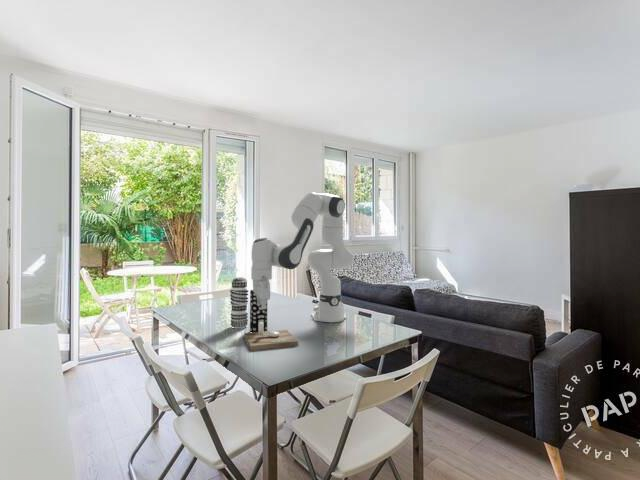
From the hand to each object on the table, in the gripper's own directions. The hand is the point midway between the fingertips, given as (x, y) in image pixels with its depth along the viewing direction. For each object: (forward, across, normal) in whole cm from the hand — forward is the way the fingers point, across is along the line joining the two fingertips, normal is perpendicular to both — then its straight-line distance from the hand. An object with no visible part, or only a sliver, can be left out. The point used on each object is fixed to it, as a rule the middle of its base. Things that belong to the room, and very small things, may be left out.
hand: (261, 306), depth 153 cm
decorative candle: (+15, +29, +6) cm, 33 cm away
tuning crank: (+13, +1, -3) cm, 14 cm away
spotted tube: (+16, +18, -2) cm, 24 cm away
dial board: (+16, 0, -4) cm, 16 cm away
